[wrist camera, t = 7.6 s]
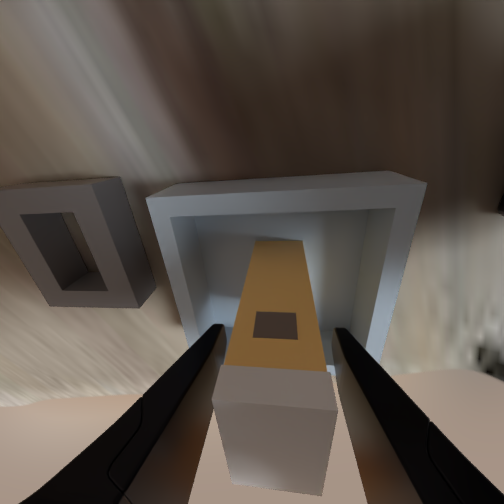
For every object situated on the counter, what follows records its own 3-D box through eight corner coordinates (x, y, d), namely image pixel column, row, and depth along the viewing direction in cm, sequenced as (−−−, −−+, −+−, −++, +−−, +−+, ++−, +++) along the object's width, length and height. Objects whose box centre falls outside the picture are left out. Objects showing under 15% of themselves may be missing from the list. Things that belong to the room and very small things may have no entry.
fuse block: (120, 176, 12) (91, 184, 10) (156, 287, 15) (139, 308, 13) (21, 183, 12) (-22, 191, 11) (76, 287, 16) (49, 306, 14)
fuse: (303, 239, 11) (338, 411, 4) (300, 303, 13) (321, 495, 6) (254, 240, 12) (211, 399, 5) (258, 302, 14) (232, 483, 6)
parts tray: (389, 170, 10) (427, 183, 7) (358, 333, 15) (375, 377, 12) (177, 183, 11) (145, 197, 9) (209, 328, 16) (194, 366, 13)
